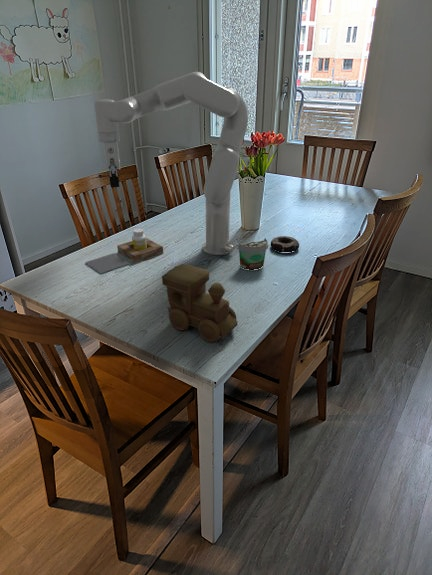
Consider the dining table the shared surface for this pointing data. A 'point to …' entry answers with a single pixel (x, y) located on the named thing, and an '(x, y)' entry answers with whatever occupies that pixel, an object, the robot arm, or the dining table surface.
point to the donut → (284, 244)
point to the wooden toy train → (198, 303)
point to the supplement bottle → (139, 240)
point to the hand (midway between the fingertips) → (114, 183)
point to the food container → (252, 254)
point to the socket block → (137, 256)
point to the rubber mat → (107, 263)
